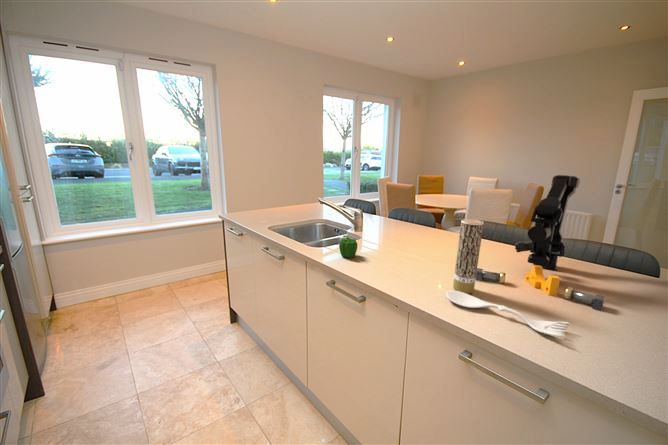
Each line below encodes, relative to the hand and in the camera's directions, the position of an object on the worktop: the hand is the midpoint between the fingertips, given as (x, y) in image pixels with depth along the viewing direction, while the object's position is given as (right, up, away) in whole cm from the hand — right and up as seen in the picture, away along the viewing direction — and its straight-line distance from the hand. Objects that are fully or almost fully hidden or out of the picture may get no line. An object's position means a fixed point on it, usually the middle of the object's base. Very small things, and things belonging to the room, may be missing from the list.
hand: (536, 275), depth 114 cm
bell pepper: (-72, +5, +22) cm, 76 cm away
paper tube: (-33, -3, -10) cm, 35 cm away
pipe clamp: (-4, -3, -8) cm, 9 cm away
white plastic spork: (-30, -8, -27) cm, 41 cm away
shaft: (+2, -6, -19) cm, 20 cm away
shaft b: (-20, -2, -2) cm, 20 cm away
